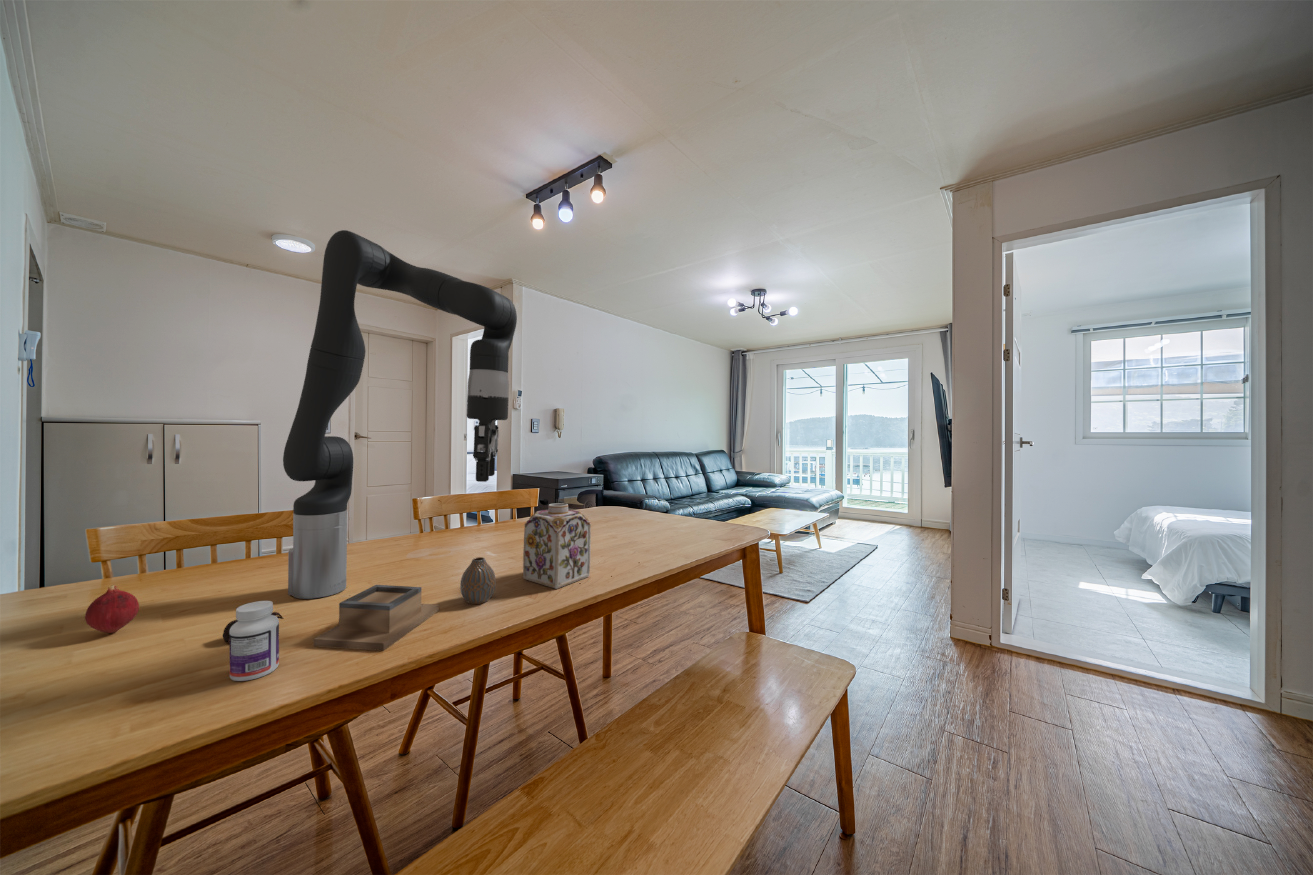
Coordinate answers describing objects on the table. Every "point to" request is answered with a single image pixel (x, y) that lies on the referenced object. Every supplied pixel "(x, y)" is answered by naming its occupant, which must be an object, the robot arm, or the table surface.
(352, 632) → the display stand
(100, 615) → the onion
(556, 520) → the decorative jar
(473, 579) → the vase
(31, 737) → the table surface
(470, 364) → the robot arm
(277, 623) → the pill bottle
